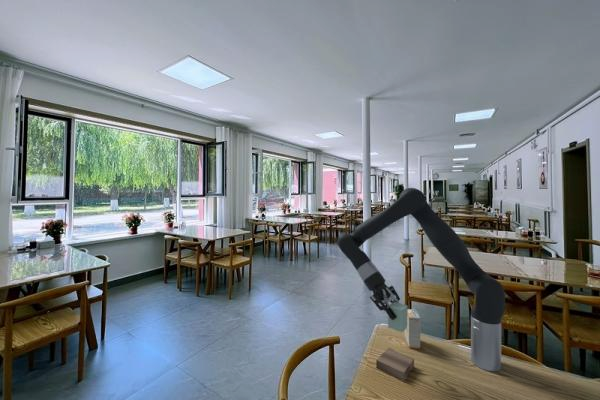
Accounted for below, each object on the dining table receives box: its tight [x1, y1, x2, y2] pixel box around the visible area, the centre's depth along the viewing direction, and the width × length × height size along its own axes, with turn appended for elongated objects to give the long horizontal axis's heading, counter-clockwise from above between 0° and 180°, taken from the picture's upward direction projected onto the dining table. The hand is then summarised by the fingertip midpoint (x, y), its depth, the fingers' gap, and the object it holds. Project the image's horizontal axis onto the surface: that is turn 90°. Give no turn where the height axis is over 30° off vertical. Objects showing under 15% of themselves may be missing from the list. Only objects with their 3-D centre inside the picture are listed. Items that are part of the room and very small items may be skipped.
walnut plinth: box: [375, 347, 415, 382], centre depth 95 cm, size 10×10×3 cm
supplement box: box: [404, 308, 421, 350], centre depth 110 cm, size 8×5×13 cm, turn 168°
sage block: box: [387, 302, 409, 333], centre depth 94 cm, size 5×5×8 cm
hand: (398, 316), depth 93 cm, fingers closed on sage block, 5 cm apart
